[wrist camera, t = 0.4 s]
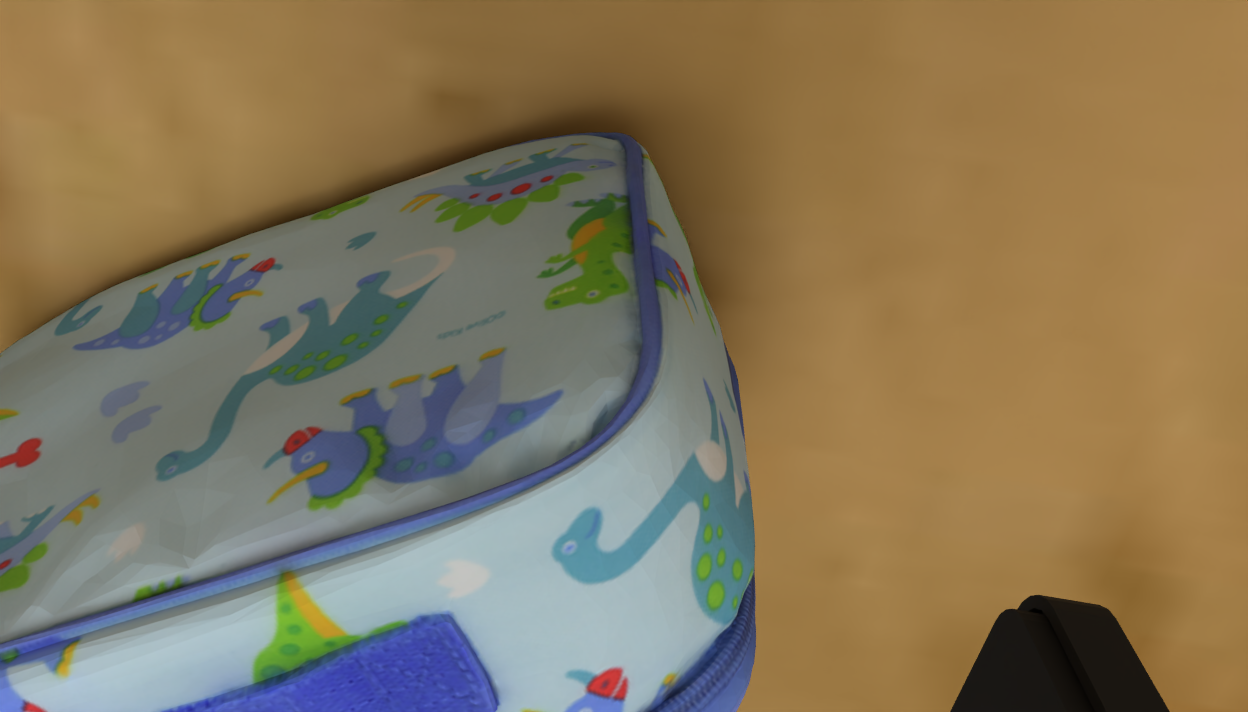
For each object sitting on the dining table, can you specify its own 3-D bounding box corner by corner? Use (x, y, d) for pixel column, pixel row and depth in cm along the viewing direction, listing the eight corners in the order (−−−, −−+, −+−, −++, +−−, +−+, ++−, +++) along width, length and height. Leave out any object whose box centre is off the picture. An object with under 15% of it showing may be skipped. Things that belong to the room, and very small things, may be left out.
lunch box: (116, 553, 47) (-187, 1097, 28) (-50, 330, 42) (-548, 814, 23) (737, 340, 43) (852, 810, 25) (635, 68, 38) (683, 400, 20)
